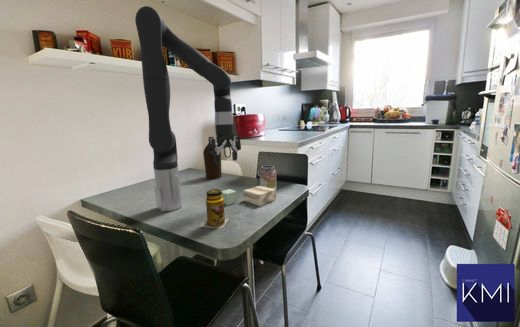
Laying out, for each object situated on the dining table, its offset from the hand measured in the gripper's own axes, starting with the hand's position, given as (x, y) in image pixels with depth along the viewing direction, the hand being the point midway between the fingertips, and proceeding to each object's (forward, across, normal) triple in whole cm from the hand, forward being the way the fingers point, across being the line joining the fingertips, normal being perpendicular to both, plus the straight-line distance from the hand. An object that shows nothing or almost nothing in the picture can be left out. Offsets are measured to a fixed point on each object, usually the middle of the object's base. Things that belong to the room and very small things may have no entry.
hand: (226, 161), depth 105 cm
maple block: (+18, +11, -8) cm, 23 cm away
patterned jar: (+18, +23, 0) cm, 29 cm away
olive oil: (+18, +19, +44) cm, 51 cm away
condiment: (+18, -16, -14) cm, 28 cm away
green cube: (+18, 0, 0) cm, 18 cm away
